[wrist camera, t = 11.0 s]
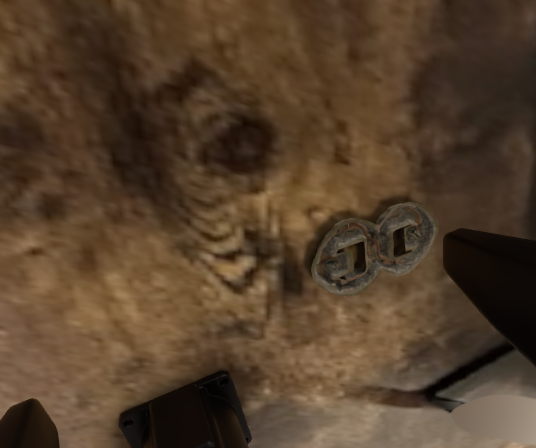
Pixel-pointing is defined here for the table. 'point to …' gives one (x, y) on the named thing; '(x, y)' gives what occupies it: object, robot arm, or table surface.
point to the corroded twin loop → (374, 248)
